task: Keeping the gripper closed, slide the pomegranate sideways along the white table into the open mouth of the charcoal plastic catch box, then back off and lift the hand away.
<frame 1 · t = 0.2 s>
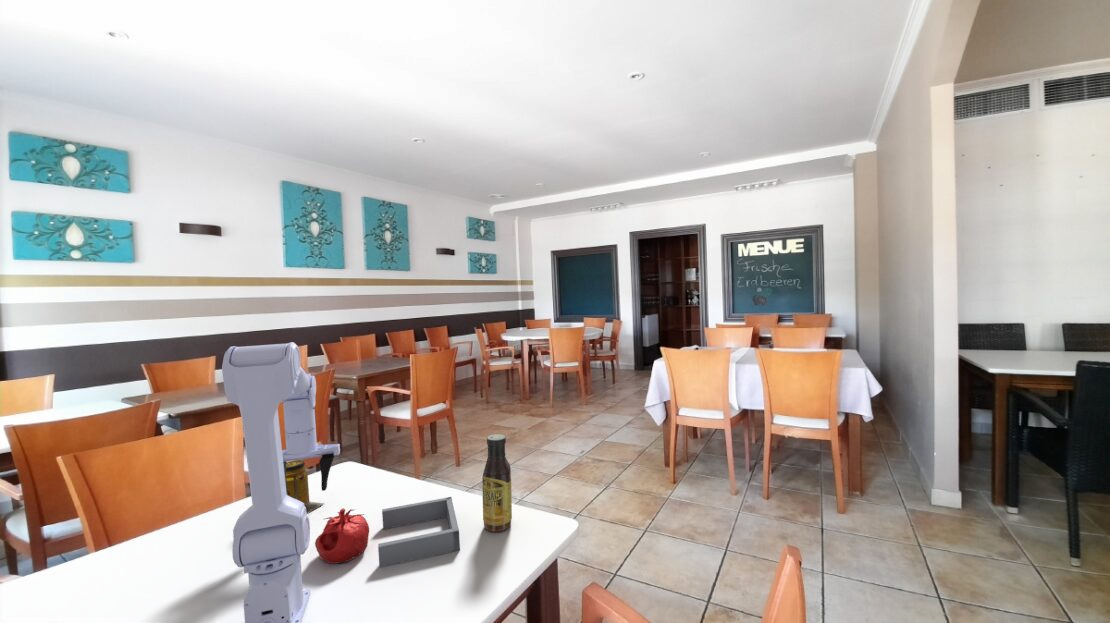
hand: (304, 492, 96), 10 cm above the table, fingers open, 7 cm apart
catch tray: (419, 537, 94), on the table
sauce bottle: (498, 527, 97), on the table
condiment: (299, 511, 109), on the table
pomegranate: (344, 554, 90), on the table
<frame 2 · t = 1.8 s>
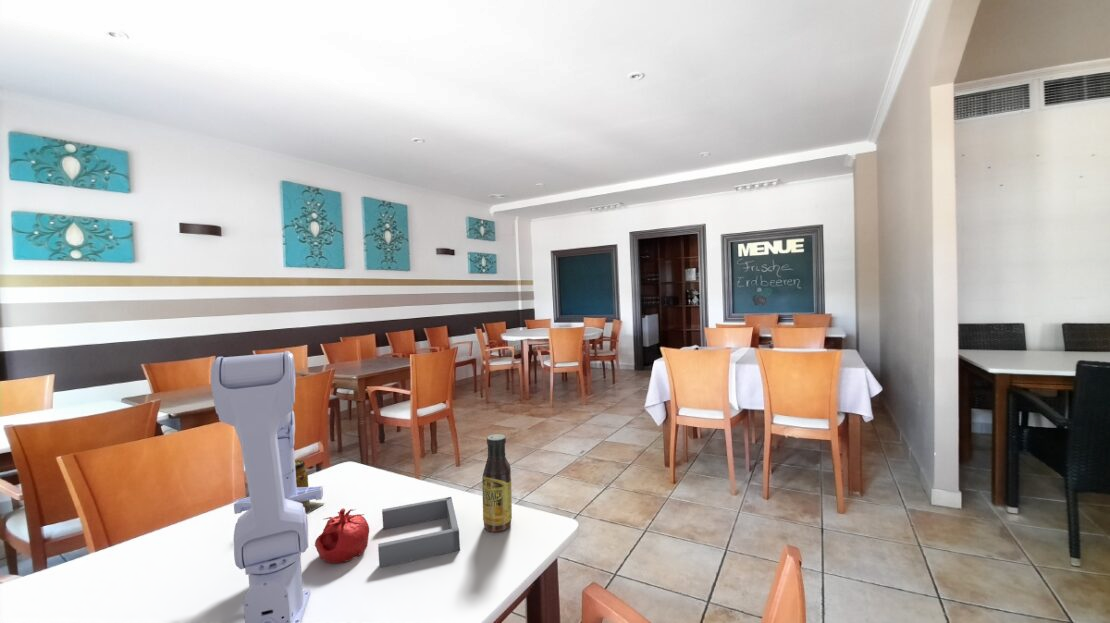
hand: (283, 541, 86), 5 cm above the table, fingers closed
nothing on the table moved.
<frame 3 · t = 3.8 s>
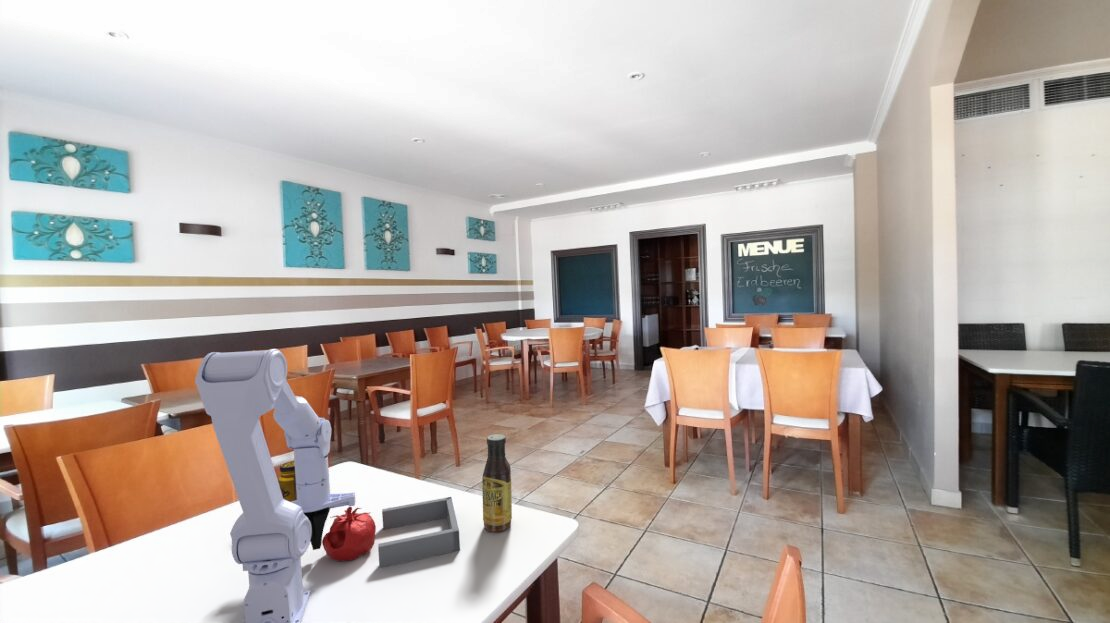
hand: (317, 546, 88), 2 cm above the table, fingers closed
pomegranate: (351, 552, 90), on the table, touching gripper
everything else where it was.
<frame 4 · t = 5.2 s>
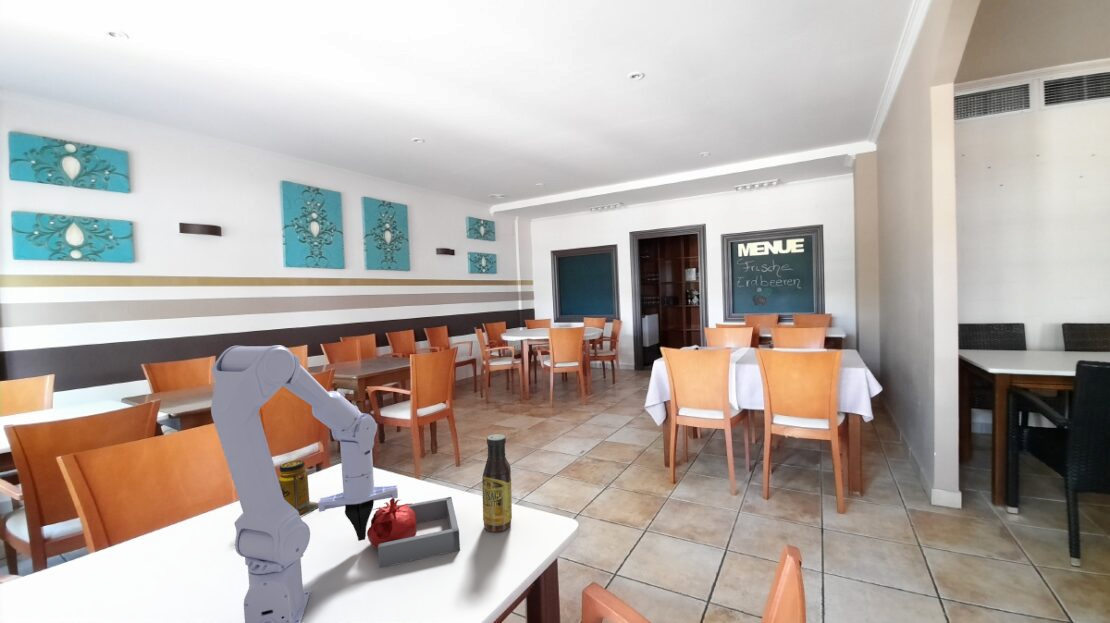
hand: (362, 537, 91), 2 cm above the table, fingers closed
pomegranate: (393, 543, 93), on the table, touching gripper
everything else where it was.
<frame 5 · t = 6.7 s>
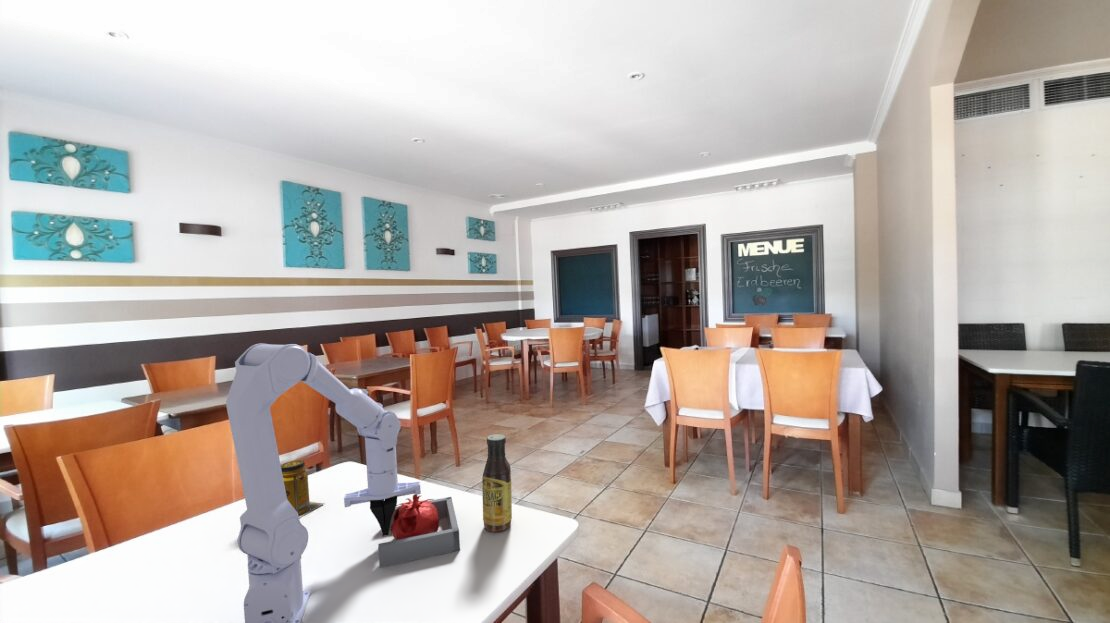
hand: (385, 533, 92), 2 cm above the table, fingers closed
pomegranate: (416, 538, 94), on the table, touching gripper
everything else where it was.
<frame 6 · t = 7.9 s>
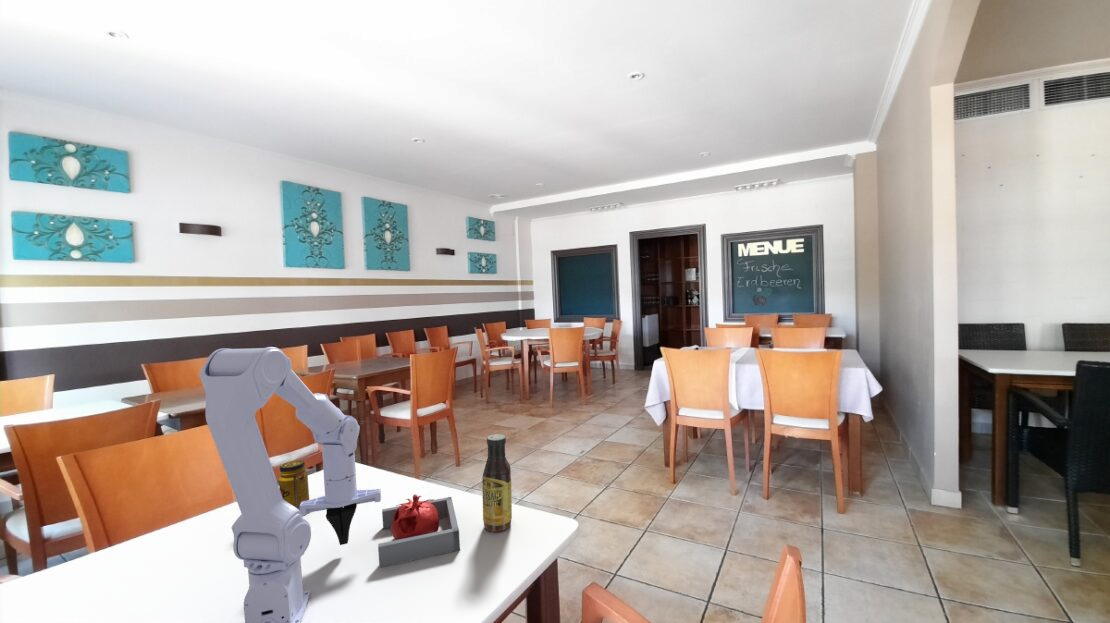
hand: (344, 541, 89), 2 cm above the table, fingers closed
pomegranate: (416, 538, 94), on the table
everything else where it was.
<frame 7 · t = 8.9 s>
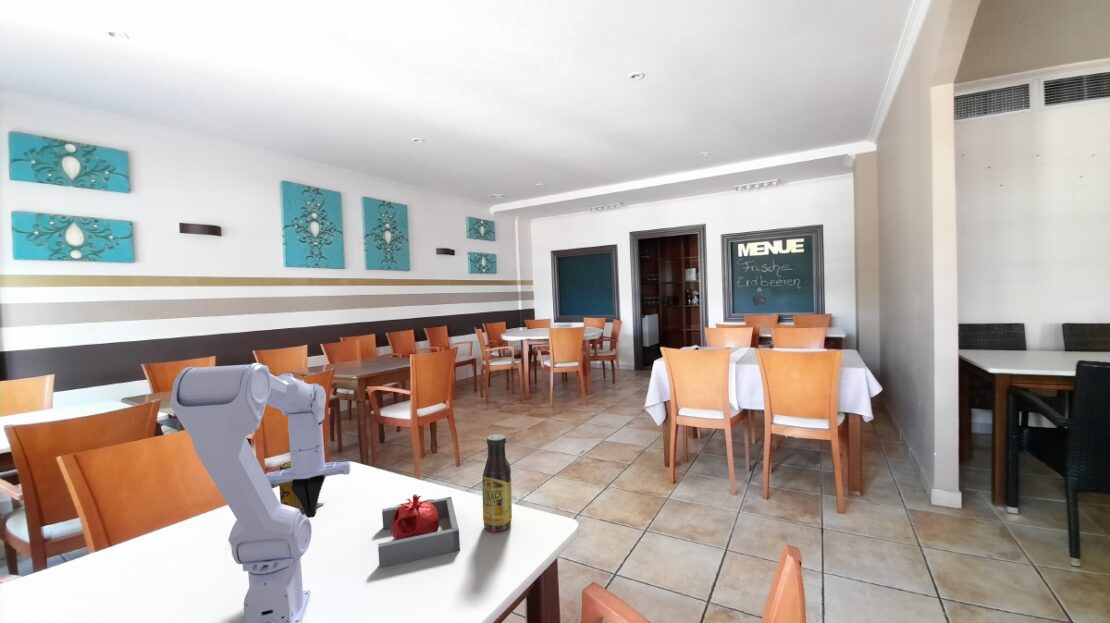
hand: (311, 515, 87), 9 cm above the table, fingers closed
nothing on the table moved.
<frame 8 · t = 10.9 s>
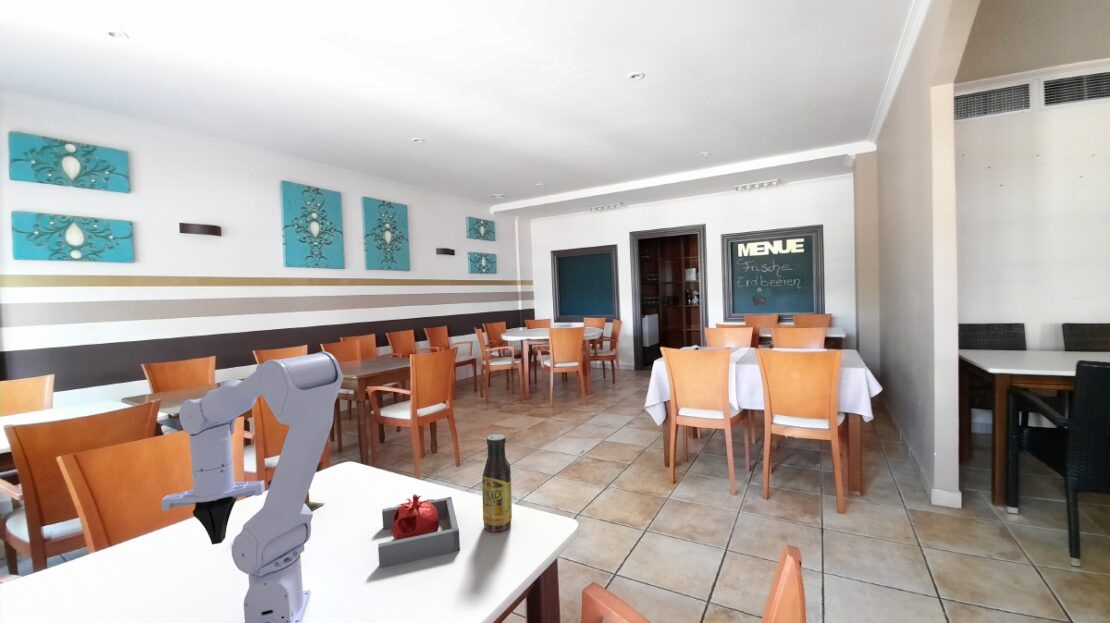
hand: (218, 541, 78), 9 cm above the table, fingers closed
nothing on the table moved.
at the end: pomegranate inside the target area on the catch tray (2.5 cm from its centre), point 0.0 cm above the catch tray's base; pomegranate moved 13.8 cm from its start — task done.
